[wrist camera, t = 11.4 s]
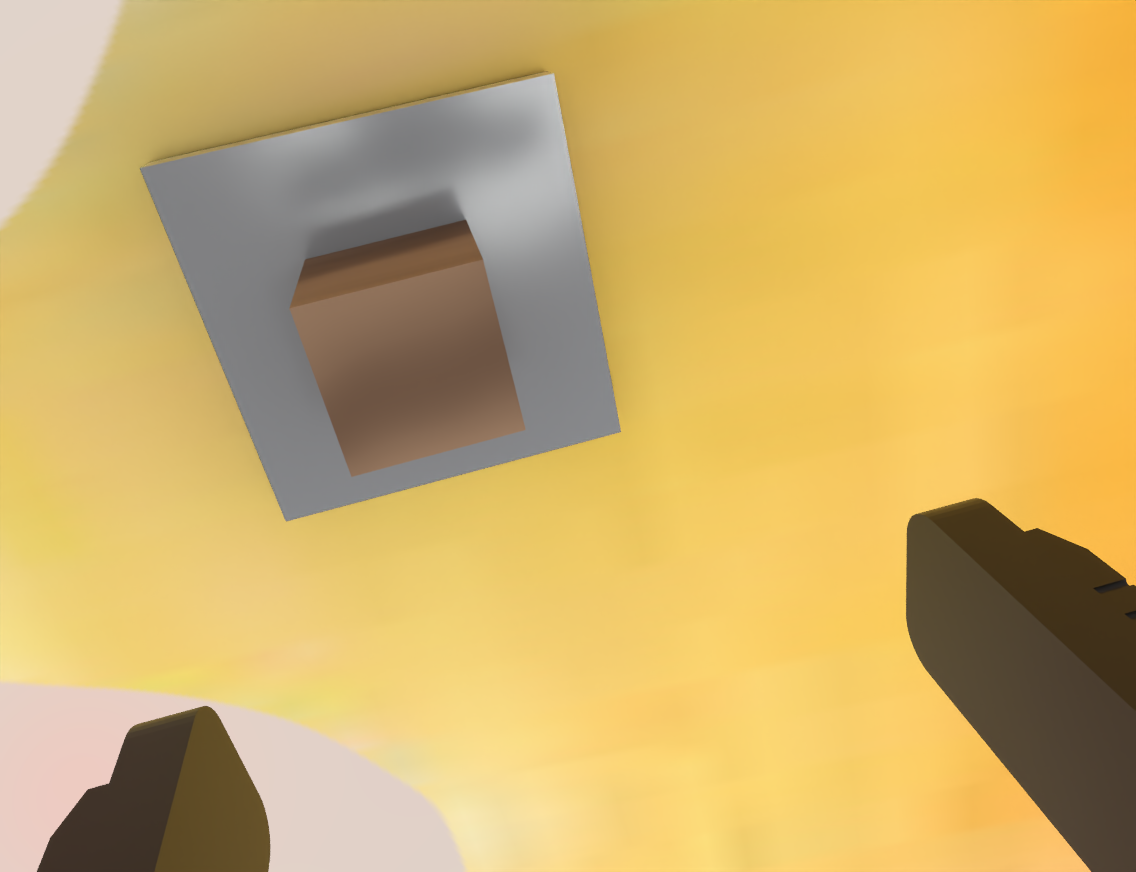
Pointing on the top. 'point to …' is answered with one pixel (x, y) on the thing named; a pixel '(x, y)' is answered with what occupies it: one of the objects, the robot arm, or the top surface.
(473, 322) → the walnut cube
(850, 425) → the top surface
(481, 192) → the plate
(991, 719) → the robot arm
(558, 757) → the top surface
